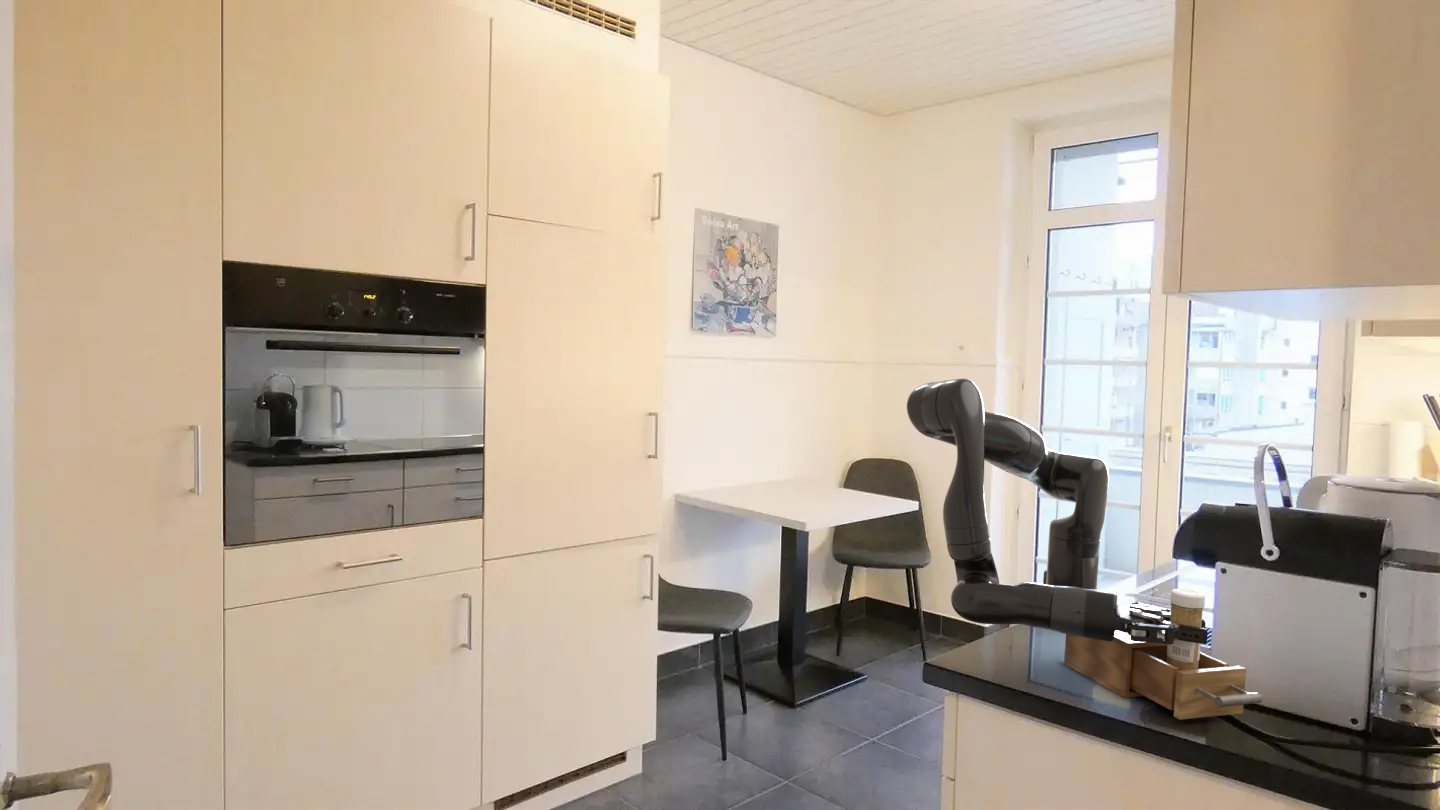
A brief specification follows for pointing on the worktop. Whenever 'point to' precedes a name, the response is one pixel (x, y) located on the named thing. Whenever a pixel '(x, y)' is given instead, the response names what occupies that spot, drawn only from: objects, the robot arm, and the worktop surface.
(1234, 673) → the drawer
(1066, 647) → the cabinet
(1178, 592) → the sprinkles bottle
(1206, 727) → the worktop surface
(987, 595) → the robot arm
